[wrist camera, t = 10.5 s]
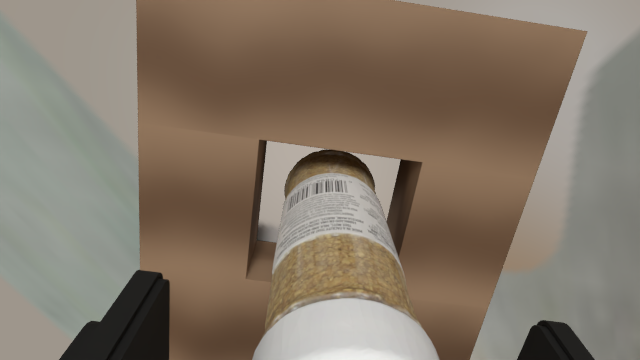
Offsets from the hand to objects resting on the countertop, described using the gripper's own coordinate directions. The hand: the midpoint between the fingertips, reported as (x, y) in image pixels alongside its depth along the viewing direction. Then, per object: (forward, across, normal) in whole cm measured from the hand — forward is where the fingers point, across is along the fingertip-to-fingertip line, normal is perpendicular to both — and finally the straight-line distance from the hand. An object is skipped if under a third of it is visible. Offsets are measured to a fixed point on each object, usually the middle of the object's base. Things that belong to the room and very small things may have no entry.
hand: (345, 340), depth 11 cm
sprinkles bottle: (+11, 0, +1) cm, 11 cm away
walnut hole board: (+11, 0, +1) cm, 11 cm away
